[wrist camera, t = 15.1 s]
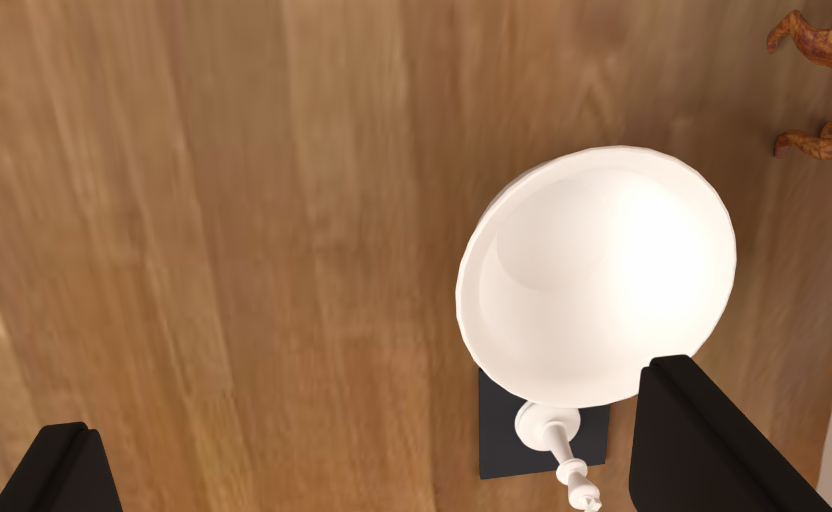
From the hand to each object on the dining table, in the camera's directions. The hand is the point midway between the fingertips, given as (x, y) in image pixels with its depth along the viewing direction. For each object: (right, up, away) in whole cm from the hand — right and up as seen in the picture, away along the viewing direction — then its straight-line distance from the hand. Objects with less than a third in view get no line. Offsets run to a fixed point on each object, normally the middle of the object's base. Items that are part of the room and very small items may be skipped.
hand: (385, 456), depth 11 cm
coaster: (+10, -9, +38) cm, 41 cm away
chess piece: (+10, -9, +38) cm, 41 cm away
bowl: (+10, +5, +33) cm, 34 cm away
